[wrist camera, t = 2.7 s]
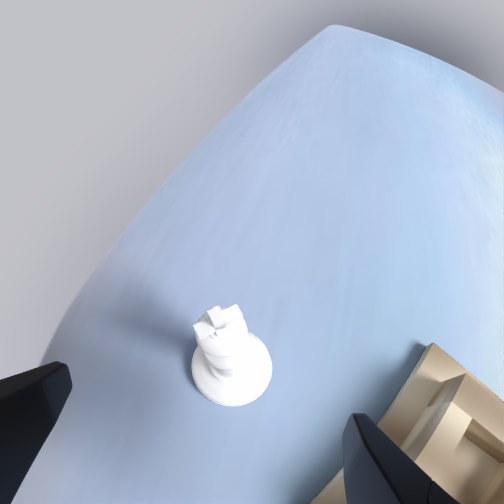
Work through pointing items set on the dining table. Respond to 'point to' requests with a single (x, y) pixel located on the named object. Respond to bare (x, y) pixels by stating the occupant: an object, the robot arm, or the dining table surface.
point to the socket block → (444, 431)
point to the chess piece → (229, 358)
